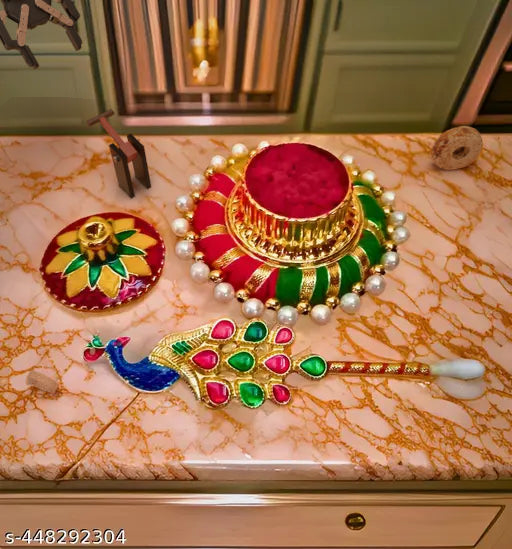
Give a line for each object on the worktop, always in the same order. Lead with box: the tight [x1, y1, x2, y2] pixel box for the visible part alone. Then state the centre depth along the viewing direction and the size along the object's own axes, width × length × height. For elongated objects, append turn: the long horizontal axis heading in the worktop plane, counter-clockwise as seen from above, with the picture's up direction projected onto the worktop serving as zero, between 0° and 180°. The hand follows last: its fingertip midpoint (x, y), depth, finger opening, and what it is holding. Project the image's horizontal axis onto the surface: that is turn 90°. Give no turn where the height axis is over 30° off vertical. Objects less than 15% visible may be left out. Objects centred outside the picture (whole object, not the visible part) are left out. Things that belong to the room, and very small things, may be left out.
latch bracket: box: [108, 133, 152, 200], centre depth 114 cm, size 11×8×13 cm
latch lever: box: [86, 108, 137, 164], centre depth 111 cm, size 11×6×2 cm, turn 41°
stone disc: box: [430, 125, 484, 171], centre depth 122 cm, size 10×4×10 cm, turn 98°
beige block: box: [25, 369, 59, 394], centre depth 93 cm, size 3×5×5 cm, turn 70°
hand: (58, 58), depth 103 cm, fingers open, 8 cm apart
